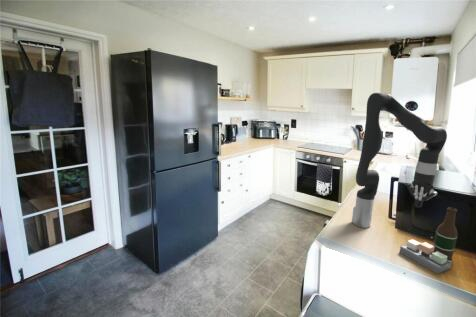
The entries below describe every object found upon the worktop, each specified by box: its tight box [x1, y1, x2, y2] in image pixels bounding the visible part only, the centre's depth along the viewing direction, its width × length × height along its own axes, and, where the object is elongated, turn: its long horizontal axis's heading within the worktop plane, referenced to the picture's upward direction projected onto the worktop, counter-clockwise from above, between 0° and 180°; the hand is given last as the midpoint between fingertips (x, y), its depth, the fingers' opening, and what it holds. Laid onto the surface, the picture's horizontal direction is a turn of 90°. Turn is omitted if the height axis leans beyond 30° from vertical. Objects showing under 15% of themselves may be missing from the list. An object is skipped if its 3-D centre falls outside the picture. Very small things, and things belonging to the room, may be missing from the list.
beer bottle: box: [432, 206, 458, 260], centre depth 120 cm, size 8×8×24 cm
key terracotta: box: [419, 241, 435, 254], centre depth 118 cm, size 4×4×3 cm
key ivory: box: [406, 238, 422, 251], centre depth 123 cm, size 4×4×3 cm
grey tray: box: [399, 244, 452, 274], centre depth 118 cm, size 17×9×5 cm, turn 25°
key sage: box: [431, 251, 448, 264], centre depth 113 cm, size 4×4×3 cm
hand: (417, 206), depth 120 cm, fingers closed
